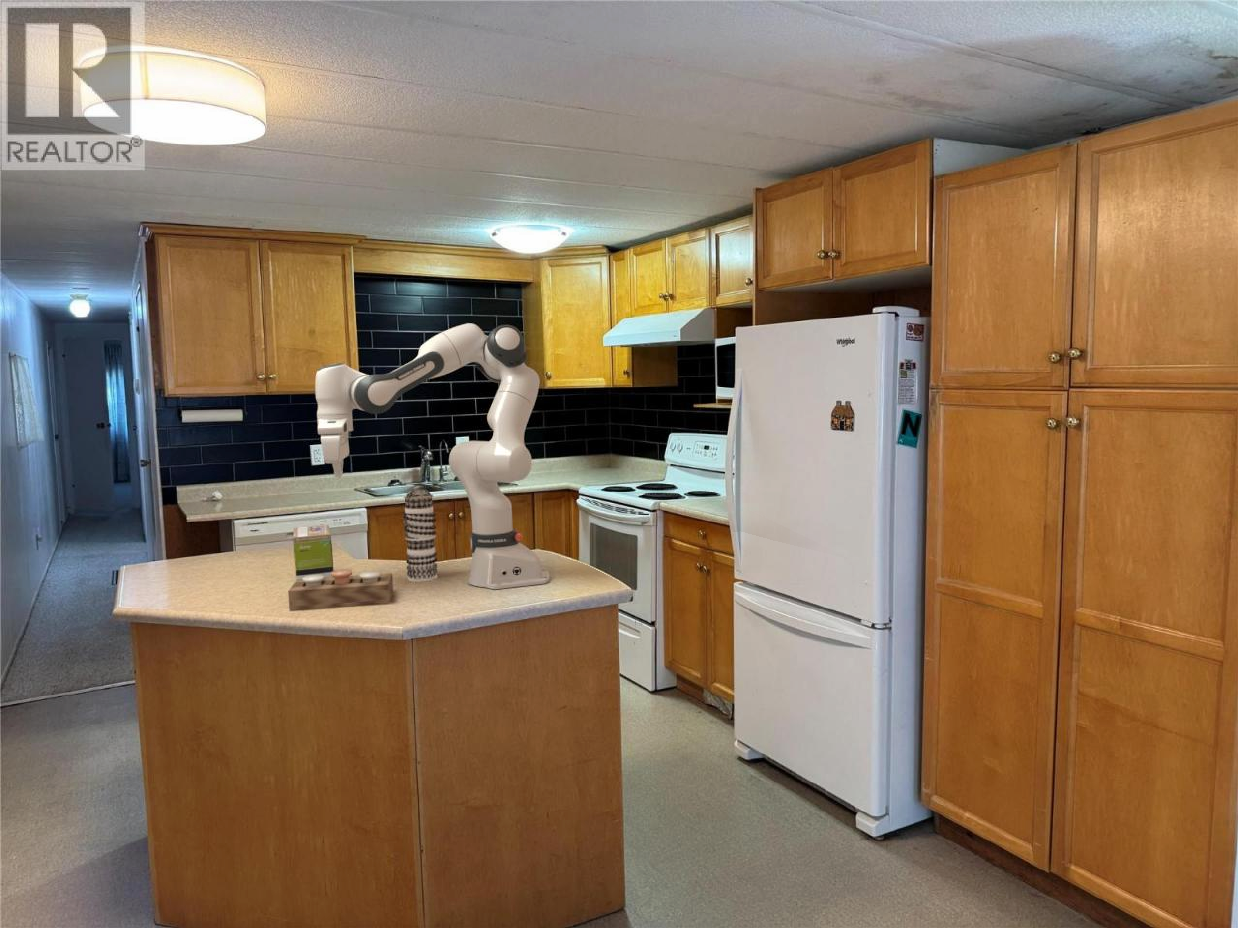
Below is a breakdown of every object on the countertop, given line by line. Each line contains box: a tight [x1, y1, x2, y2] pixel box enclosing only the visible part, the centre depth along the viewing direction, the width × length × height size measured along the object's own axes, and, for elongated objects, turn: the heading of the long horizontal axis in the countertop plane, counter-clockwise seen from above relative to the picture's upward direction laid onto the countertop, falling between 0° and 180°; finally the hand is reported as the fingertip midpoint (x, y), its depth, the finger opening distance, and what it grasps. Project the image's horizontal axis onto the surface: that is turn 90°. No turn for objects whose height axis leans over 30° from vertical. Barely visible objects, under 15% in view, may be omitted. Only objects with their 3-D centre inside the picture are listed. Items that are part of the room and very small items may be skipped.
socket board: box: [287, 572, 394, 611], centre depth 215 cm, size 24×12×5 cm, turn 100°
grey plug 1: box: [302, 575, 324, 586], centre depth 214 cm, size 5×5×5 cm
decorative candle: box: [402, 489, 439, 583], centre depth 236 cm, size 9×9×25 cm
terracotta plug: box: [331, 568, 353, 585], centre depth 215 cm, size 5×5×5 cm
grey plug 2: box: [358, 570, 381, 583], centre depth 216 cm, size 5×5×5 cm
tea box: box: [292, 524, 334, 582], centre depth 236 cm, size 15×10×15 cm, turn 21°
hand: (338, 476), depth 223 cm, fingers closed
